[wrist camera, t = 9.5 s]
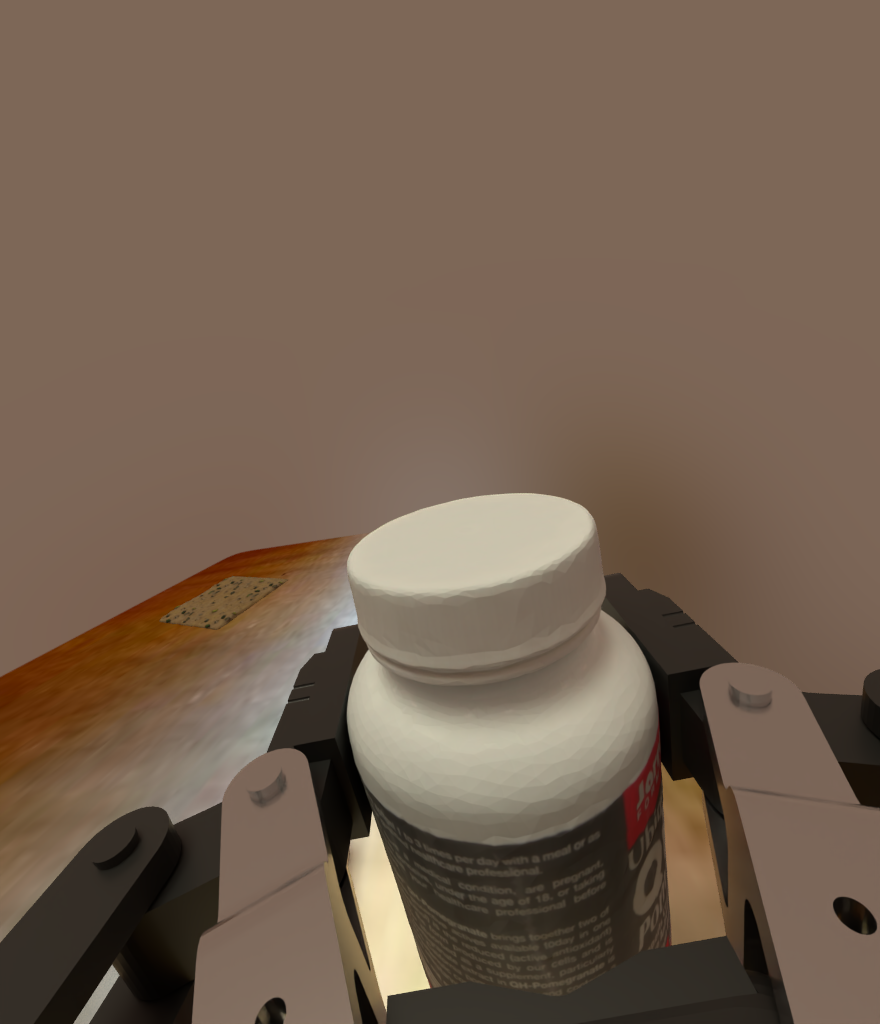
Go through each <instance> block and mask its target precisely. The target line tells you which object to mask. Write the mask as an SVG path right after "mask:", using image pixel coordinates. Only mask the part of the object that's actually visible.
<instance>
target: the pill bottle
mask: <svg viewBox="0 0 880 1024" xmlns="http://www.w3.org/2000/svg"><path fill="white" fill-rule="evenodd" d="M347 573H348V579H349V583H350V586H351V590H352V595H353V599H354V603H355V607H356V611H357V617H358V628H359V630H360V633H361V635H362V637H363V639H364V641H365V642H366V644H367V647H368V649H369V650H368V651H367V653H366V654H365V656H364V658H363V659H362V661H361V663H360V665H359V667H358V669H357V671H356V673H355V675H354V678H353V681H352V684H351V688H350V692H349V697H348V705H347V725H348V733H349V738H350V743H351V747H352V751H353V756H354V761H355V764H356V767H357V769H358V772H359V775H360V777H361V780H362V783H363V785H364V788H365V791H366V795H367V798H368V800H369V803H370V806H371V809H372V812H373V814H374V817H375V820H376V824H377V826H378V829H379V832H380V835H381V838H382V840H383V844H384V847H385V850H386V853H387V856H388V859H389V862H390V865H391V867H392V871H393V874H394V877H395V880H396V883H397V886H398V889H399V892H400V895H401V899H402V902H403V905H404V908H405V911H406V915H407V918H408V921H409V924H410V927H411V929H412V933H413V936H414V939H415V942H416V946H417V950H418V953H419V956H420V959H421V962H422V965H423V968H424V971H425V974H426V977H427V979H428V982H429V985H430V988H436V987H441V986H447V985H453V984H458V983H464V982H476V983H481V984H487V985H493V986H498V987H504V988H510V989H516V990H521V991H527V992H533V993H538V994H544V995H550V996H564V995H567V994H569V993H571V992H573V991H575V990H576V989H578V988H580V987H582V986H583V985H585V984H587V983H588V982H590V981H592V980H594V979H595V978H597V977H599V976H600V975H602V974H604V973H605V972H607V971H609V970H611V969H612V968H614V967H616V966H617V965H619V964H621V963H622V962H624V961H626V960H628V959H629V958H631V957H633V956H634V955H636V954H638V953H639V952H641V951H644V950H650V949H656V948H661V947H667V946H671V924H670V909H669V896H668V881H667V865H666V850H665V831H664V812H663V786H662V773H661V747H660V726H659V710H658V703H657V697H656V690H655V683H654V680H653V676H652V673H651V670H650V667H649V665H648V663H647V660H646V658H645V656H644V654H643V652H642V651H641V649H640V647H639V646H638V644H637V643H636V641H635V640H634V639H633V637H632V636H631V635H630V634H629V633H628V632H627V631H626V630H625V629H624V628H623V627H622V626H621V625H620V624H619V623H618V622H617V621H616V620H615V619H613V618H612V617H611V616H609V615H608V614H607V613H605V612H604V611H602V610H601V605H602V603H603V601H604V598H605V596H606V583H605V579H604V575H603V570H602V562H601V554H600V545H599V539H598V533H597V528H596V524H595V522H594V519H593V517H592V516H591V515H590V513H589V512H588V511H587V510H586V509H585V508H584V507H583V506H581V505H579V504H577V503H574V502H573V501H570V500H567V499H564V498H560V497H555V496H549V495H542V494H530V493H516V494H498V495H486V496H477V497H472V498H465V499H460V500H455V501H451V502H447V503H443V504H439V505H435V506H432V507H428V508H424V509H421V510H418V511H416V512H413V513H410V514H407V515H405V516H402V517H400V518H397V519H395V520H392V521H390V522H389V523H386V524H384V525H382V526H381V527H379V528H378V529H376V530H375V531H373V532H371V533H370V534H369V535H367V536H366V537H364V538H363V539H362V540H361V541H360V542H359V543H358V544H357V545H356V546H355V547H354V549H353V550H352V552H351V553H350V555H349V558H348V561H347Z"/></svg>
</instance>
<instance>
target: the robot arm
mask: <svg viewBox="0 0 880 1024" xmlns="http://www.w3.org/2000/svg"><path fill="white" fill-rule="evenodd" d="M604 579H605V583H606V596H605V598H604V601H603V603H602V605H601V610H602V611H604V612H605V613H607V614H608V615H609V616H611V617H612V618H613V619H615V620H616V621H617V622H618V623H619V624H620V625H621V626H622V627H623V628H624V629H625V630H626V631H627V632H628V633H629V634H630V635H631V636H632V637H633V639H634V640H635V641H636V643H637V644H638V646H639V647H640V649H641V651H642V652H643V654H644V656H645V658H646V660H647V663H648V665H649V667H650V670H651V673H652V676H653V680H654V683H655V690H656V697H657V703H658V710H659V726H660V747H661V762H662V763H663V765H664V767H665V768H666V770H667V772H668V773H669V775H670V777H671V778H672V780H673V781H675V780H681V779H686V778H691V777H694V778H695V780H696V781H697V783H698V784H699V786H700V787H701V789H702V799H703V811H704V816H705V822H706V827H707V833H708V838H709V843H710V849H711V854H712V860H713V865H714V870H715V876H716V881H717V886H718V892H719V897H720V903H721V908H722V913H723V919H724V925H725V932H726V936H723V937H718V938H712V939H707V940H701V941H695V942H690V943H684V944H678V945H673V946H667V947H661V948H656V949H650V950H644V951H641V952H639V953H638V954H636V955H634V956H633V957H631V958H629V959H628V960H626V961H624V962H622V963H621V964H619V965H617V966H616V967H614V968H612V969H611V970H609V971H607V972H605V973H604V974H602V975H600V976H599V977H597V978H595V979H594V980H592V981H590V982H588V983H587V984H585V985H583V986H582V987H580V988H578V989H576V990H575V991H573V992H571V993H569V994H567V995H564V996H550V995H544V994H538V993H533V992H527V991H521V990H516V989H510V988H504V987H498V986H493V985H487V984H481V983H476V982H464V983H458V984H453V985H447V986H441V987H436V988H430V989H424V990H419V991H413V992H408V993H402V994H396V995H391V996H388V999H387V1012H386V1009H385V1006H384V1003H383V1000H382V996H381V993H380V989H379V986H378V982H377V978H376V974H375V970H374V966H373V962H372V958H371V954H370V950H369V946H368V942H367V938H366V934H365V930H364V926H363V922H362V918H361V914H360V910H359V906H358V902H357V898H356V894H355V890H354V886H353V882H352V878H351V874H350V871H349V868H348V866H347V858H348V852H349V845H350V840H352V839H358V838H363V837H368V836H369V834H370V825H371V816H372V809H371V806H370V803H369V800H368V798H367V795H366V791H365V788H364V785H363V783H362V780H361V777H360V775H359V772H358V769H357V767H356V764H355V761H354V756H353V751H352V747H351V743H350V738H349V733H348V725H347V705H348V697H349V692H350V688H351V684H352V681H353V678H354V675H355V673H356V671H357V669H358V667H359V665H360V663H361V661H362V659H363V658H364V656H365V654H366V653H367V651H368V650H369V649H368V647H367V644H366V642H365V641H364V639H363V637H362V635H361V633H360V630H359V628H358V624H357V625H352V626H347V627H342V628H337V629H334V630H333V631H332V634H331V637H330V639H329V642H328V645H327V648H326V651H325V652H322V653H317V654H314V655H313V656H312V657H311V658H310V660H309V661H308V662H307V663H306V664H305V665H304V666H303V667H302V668H301V670H300V672H299V674H298V677H297V679H296V682H295V684H294V689H293V690H292V691H291V694H290V696H289V699H288V704H286V706H285V709H284V711H283V714H282V716H281V719H280V721H279V723H278V726H277V728H276V731H275V733H274V736H273V738H272V741H271V743H270V746H269V748H268V751H267V753H266V754H263V755H262V756H260V757H258V758H256V759H255V760H253V761H252V762H250V763H249V764H248V765H246V766H245V767H244V768H243V769H242V770H241V771H240V772H239V773H238V774H237V775H236V776H235V777H234V779H233V780H232V781H231V783H230V784H229V786H228V788H227V790H226V792H225V794H224V797H223V801H222V802H221V803H219V804H217V805H215V806H213V807H211V808H209V809H207V810H205V811H203V812H200V813H198V814H196V815H194V816H192V817H190V818H187V819H185V820H183V821H181V822H179V823H177V824H175V825H173V824H172V822H171V820H170V818H169V816H168V814H167V812H166V811H165V810H164V809H162V808H159V807H145V808H141V809H137V810H135V811H132V812H130V813H128V814H126V815H124V816H122V817H120V818H118V819H117V820H115V821H113V822H112V823H110V824H109V825H108V826H106V827H105V828H104V829H102V830H101V831H100V832H99V833H97V834H96V835H95V836H94V837H93V838H92V839H91V840H90V841H89V842H88V843H87V844H86V845H85V846H84V847H83V848H82V849H81V850H80V851H79V853H78V854H77V855H76V856H75V857H74V858H73V860H72V861H71V862H70V863H69V864H68V865H67V866H66V868H65V869H64V870H63V871H62V872H61V873H60V875H59V876H58V877H57V878H56V879H55V880H54V881H53V883H52V884H51V885H50V886H49V887H48V888H47V890H46V891H45V892H44V893H43V894H42V895H41V896H40V898H39V899H38V900H37V901H36V902H35V903H34V905H33V906H32V907H31V908H30V909H29V910H28V911H27V913H26V914H25V915H24V916H23V917H22V918H21V920H20V921H19V922H18V923H17V924H16V925H15V926H14V928H13V929H12V930H11V931H10V932H9V933H8V935H7V936H6V937H5V938H4V939H3V940H2V941H1V943H0V1024H73V1023H74V1021H75V1020H76V1018H77V1017H78V1015H79V1014H80V1012H81V1011H82V1009H83V1008H84V1006H85V1005H86V1003H87V1002H88V1000H89V999H90V997H91V996H92V994H93V992H94V991H95V989H96V988H97V986H98V985H99V983H100V982H101V980H102V979H103V977H104V976H105V974H106V973H107V971H108V970H109V968H110V966H111V965H113V966H114V968H115V969H116V970H117V972H118V973H119V975H120V976H119V977H118V979H117V981H116V982H115V984H114V985H113V987H112V988H111V990H110V992H109V993H108V995H107V996H106V998H105V1000H104V1001H103V1003H102V1004H101V1006H100V1007H99V1009H98V1011H97V1012H96V1014H95V1015H94V1017H93V1019H92V1020H91V1022H90V1023H89V1024H880V670H876V671H874V672H872V673H870V674H869V675H868V676H867V677H866V678H865V680H864V686H863V695H862V696H860V695H839V694H819V693H818V694H817V693H806V692H801V691H800V689H799V688H798V687H797V686H796V685H795V684H794V683H792V682H791V681H790V680H789V679H787V678H786V677H784V676H782V675H780V674H779V673H777V672H774V671H772V670H770V669H767V668H764V667H761V666H757V665H752V664H745V663H739V662H737V661H736V660H735V659H734V658H733V657H732V656H731V655H730V654H729V653H728V652H727V651H726V650H724V649H723V648H722V647H721V646H720V645H719V644H718V643H717V642H716V641H715V640H714V639H713V638H712V637H711V636H709V635H708V634H707V633H706V632H705V631H704V630H703V629H702V628H701V627H700V626H699V625H695V622H694V621H693V620H692V619H691V618H690V617H689V616H688V615H687V614H686V613H685V614H684V613H683V611H682V610H681V609H680V608H679V607H678V606H677V605H676V604H675V603H674V602H673V601H672V600H671V599H670V598H668V597H665V596H664V595H661V594H659V593H657V592H654V591H652V590H650V589H644V590H639V591H638V590H637V589H636V588H635V587H634V586H633V585H632V584H631V583H630V582H629V581H628V580H627V579H626V578H625V577H624V576H623V575H622V574H621V573H616V574H611V575H606V576H604Z"/></svg>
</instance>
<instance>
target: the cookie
mask: <svg viewBox="0 0 880 1024" xmlns="http://www.w3.org/2000/svg"><path fill="white" fill-rule="evenodd" d="M286 581H288V579H275V578H256V577H254V578H252V577H237V576H232V577H230V578H227V579H224V580H223V581H222V582H220V583H218V584H217V585H214V586H213V587H212V588H210V589H209V590H207V591H206V592H204V593H202V594H201V595H199V596H198V597H196V598H194V599H192V600H191V601H189V602H186V603H184V604H183V605H180V606H177V607H175V609H174V610H173V611H171V612H170V613H168V614H167V615H165V616H163V618H161V619H160V622H166V623H172V624H181V625H188V626H196V627H200V628H209V629H214V630H217V629H220V628H221V627H223V626H224V625H226V624H227V623H229V622H230V621H231V620H232V619H234V618H235V617H237V616H238V615H239V614H241V613H243V612H244V611H245V610H247V609H248V608H250V607H251V606H252V605H254V604H255V603H257V602H258V601H259V600H261V599H262V598H264V597H265V596H266V595H268V594H269V593H271V592H272V591H274V590H275V589H276V588H278V587H279V586H281V585H282V584H283V583H285V582H286Z"/></svg>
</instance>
